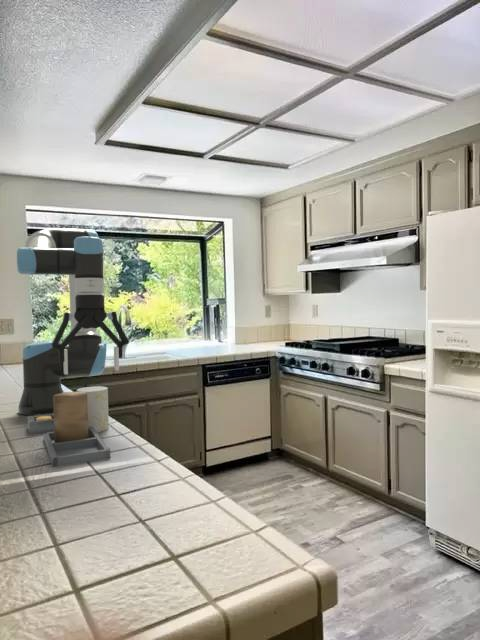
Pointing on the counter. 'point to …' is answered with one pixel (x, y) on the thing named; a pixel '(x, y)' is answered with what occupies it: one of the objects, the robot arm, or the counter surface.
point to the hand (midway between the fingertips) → (91, 372)
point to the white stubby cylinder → (97, 407)
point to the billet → (70, 416)
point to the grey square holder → (40, 424)
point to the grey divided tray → (76, 449)
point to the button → (43, 418)
